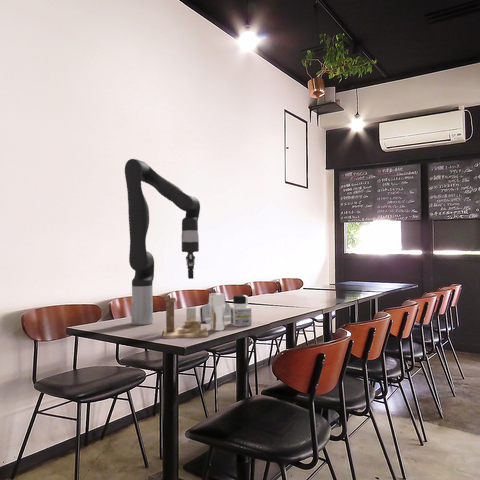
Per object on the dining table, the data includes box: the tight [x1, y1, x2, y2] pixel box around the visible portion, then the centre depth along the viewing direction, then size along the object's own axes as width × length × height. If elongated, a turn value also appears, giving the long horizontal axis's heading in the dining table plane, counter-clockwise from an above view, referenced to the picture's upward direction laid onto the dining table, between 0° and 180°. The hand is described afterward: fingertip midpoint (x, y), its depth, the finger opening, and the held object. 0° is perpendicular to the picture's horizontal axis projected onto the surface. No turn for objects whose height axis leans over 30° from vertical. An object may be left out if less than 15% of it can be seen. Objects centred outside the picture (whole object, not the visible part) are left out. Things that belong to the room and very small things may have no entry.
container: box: [230, 294, 252, 327], centre depth 184 cm, size 8×8×13 cm
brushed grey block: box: [186, 306, 197, 321], centre depth 181 cm, size 4×4×8 cm
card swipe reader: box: [199, 302, 231, 325], centre depth 195 cm, size 17×5×10 cm, turn 127°
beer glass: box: [208, 292, 227, 332], centre depth 172 cm, size 7×7×15 cm
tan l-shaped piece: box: [162, 297, 209, 339], centre depth 165 cm, size 17×16×14 cm
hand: (190, 278), depth 182 cm, fingers open, 8 cm apart
